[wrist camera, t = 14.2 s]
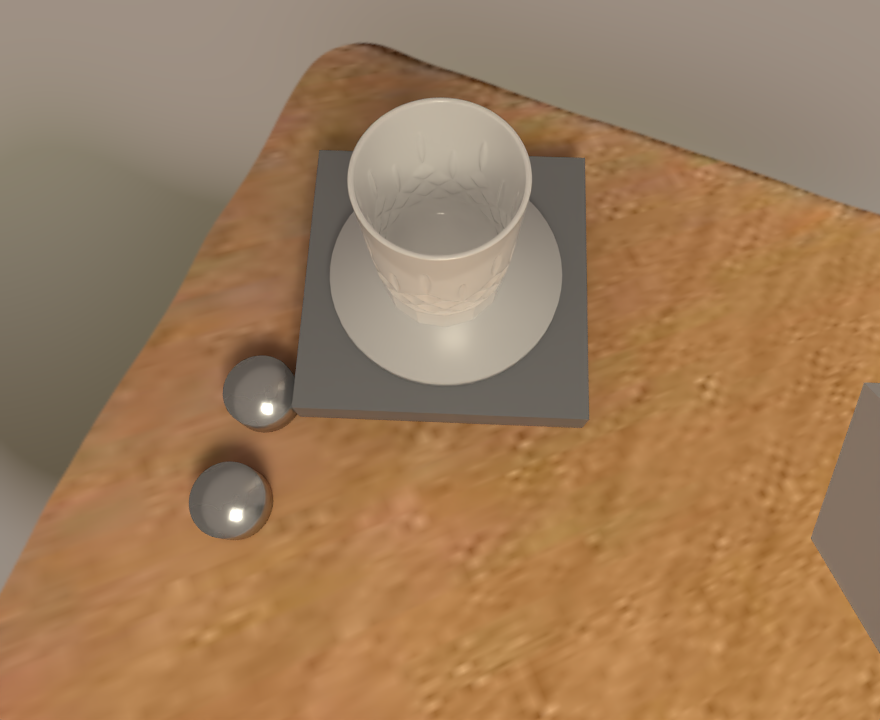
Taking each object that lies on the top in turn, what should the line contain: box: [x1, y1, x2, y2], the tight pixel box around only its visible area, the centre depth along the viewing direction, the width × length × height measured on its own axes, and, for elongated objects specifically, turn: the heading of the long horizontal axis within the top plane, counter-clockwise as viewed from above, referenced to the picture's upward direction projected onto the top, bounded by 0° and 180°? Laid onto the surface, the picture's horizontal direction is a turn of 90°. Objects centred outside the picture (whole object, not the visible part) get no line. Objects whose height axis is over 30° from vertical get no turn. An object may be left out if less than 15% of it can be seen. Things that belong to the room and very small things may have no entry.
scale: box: [292, 150, 589, 428], centre depth 42 cm, size 16×17×3 cm
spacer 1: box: [223, 356, 297, 432], centre depth 41 cm, size 4×4×2 cm
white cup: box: [347, 98, 532, 327], centre depth 35 cm, size 8×8×10 cm
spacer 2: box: [189, 462, 273, 540], centre depth 39 cm, size 4×4×2 cm
